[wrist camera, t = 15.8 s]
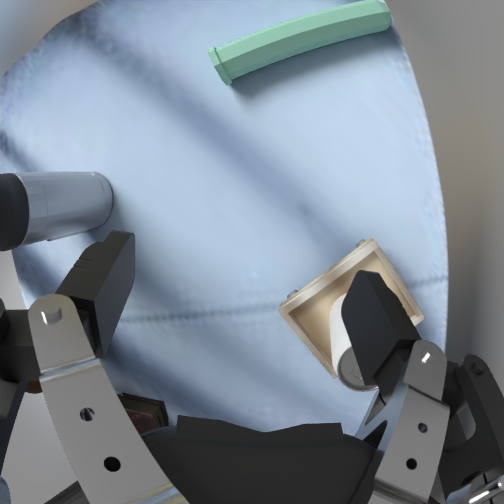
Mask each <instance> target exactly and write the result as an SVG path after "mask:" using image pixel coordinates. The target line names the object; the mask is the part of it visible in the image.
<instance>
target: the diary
mask: <svg viewBox="0 0 504 504" xmlns="http://www.w3.org/2000/svg"><path fill="white" fill-rule="evenodd" d="M117 396H118V398H119V400H120V402H121V404H122V405H123V407H124V409H125V411H126V413H127V415H128V416H129V418H130V420H131V422H132V423H133V425H134V427H135V428H136V430H137V432H138V434H139V435H140V434H143V433H145V432H147V431H150V430H153V429H157V428H161V427H167V426H169V422H168V415H167V412H166V407H165V404H164V401H159V400H154V399H149V398H144V397H139V396H135V395H130V394H126V393H123V396H121V395H117Z"/></svg>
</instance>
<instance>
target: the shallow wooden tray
mask: <svg viewBox="0 0 504 504" xmlns="http://www.w3.org/2000/svg"><path fill="white" fill-rule="evenodd" d="M356 246H357V248H356V249H355V250H353V251H352V252H351V253H350V254H348V255H347V256H346V257H344V258H343V259H342V260H340V261H339V262H338V263H336V264H335V265H334V266H332V267H331V268H330V269H328V270H327V271H326V272H324V273H323V274H321V275H320V276H319V277H317V278H316V279H315V280H313V281H312V282H311V283H309V284H308V285H306V286H305V287H304V288H302V289H301V290H299V291H297V290H294V291H293V292H292V293H290V294H289V295H288V296H287V298H288V299H287V300H285V301H284V302H283V303H281V304H280V308H279V311H278V312H279V314H280V315H281V316H282V317H283V318H284V320H285V321H286V322H287V323H288V324H289V326H290V327H291V328H292V329H293V330H294V332H295V333H296V334H297V335H298V336H299V338H300V339H301V340H302V341H303V342H304V344H305V345H306V346H307V347H308V348H309V350H310V351H311V352H312V353H313V354H314V356H315V357H316V358H317V359H318V360H319V361H320V363H321V364H322V365H323V366H324V367H325V369H326V370H327V371H328V372H329V373H330V375H331V376H332V377H333V378H334V379H335V378H337V377H338V375H337V374H336V372H335V370H334V367H333V363H332V353H331V338H330V323H329V315H330V310H331V307H332V305H333V304H334V302H335V301H336V300H337V299H338V298H339V297H340V296H342V295H344V294H346V293H347V292H348V290H349V288H350V285H351V283H352V281H353V279H354V277H355V275H356V273H357V272H358V271H359V270H366V271H373V272H378V273H379V274H380V275H381V277H382V278H383V280H384V282H385V283H386V285H387V287H389V288H390V289H391V290H392V291H393V292H394V293H395V294H396V295H397V296H398V298H399V300H400V301H401V303H402V305H403V307H404V308H405V310H406V312H407V315H409V317H410V319H411V321H412V323H413V324H414V326H416V325H417V324H418V323H420V322H421V321H422V320H424V319H425V317H424V315H423V313H422V311H421V310H420V308H419V307H418V305H417V303H416V302H415V300H414V298H413V297H412V295H411V294H410V292H409V290H408V289H407V287H406V286H405V284H404V283H403V281H402V279H401V278H400V276H399V275H398V273H397V272H396V270H395V269H394V267H393V266H392V264H391V263H390V261H389V260H388V258H387V257H386V255H385V254H384V252H383V251H382V250H381V248H380V247H379V245H378V244H377V242H376V241H375V240H374V239H373V238H372V237H370V238H369V239H368V240H366V241H364V239H363V240H361V241H360V242H359V243H358V244H356Z"/></svg>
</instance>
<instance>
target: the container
mask: <svg viewBox="0 0 504 504" xmlns="http://www.w3.org/2000/svg"><path fill="white" fill-rule="evenodd" d="M391 23H392V18H391V14H390V11H389V9H388V8H387V7H386V5H385V4H384V3H382V2H379V1H375V0H365V1H360V2H355V3H350V4H346V5H341V6H337V7H333V8H329V9H325V10H321V11H317V12H314V13H310V14H307V15H303V16H300V17H297V18H294V19H290V20H287V21H284V22H281V23H278V24H276V25H273V26H270V27H267V28H264V29H262V30H259V31H256V32H254V33H251V34H249V35H246V36H244V37H241V38H239V39H236V40H234V41H232V42H229V43H227V44H225V45H222V46H220V47H218V48H215V47H214V46H213V47H210V48H208V54H209V56H210V58H211V60H212V63H213V65H214V67H215V69H216V70H217V72H218V74H219V76H220V78H221V79H222V81H223V82H224V83H225V84H226V85H229V84H232V79H235V78H237V77H239V76H242V75H244V74H246V73H249V72H251V71H254V70H256V69H259V68H261V67H264V66H266V65H269V64H272V63H274V62H277V61H280V60H282V59H285V58H288V57H291V56H294V55H297V54H300V53H303V52H306V51H309V50H312V49H315V48H318V47H322V46H325V45H328V44H332V43H335V42H339V41H343V40H347V39H350V38H354V37H358V36H362V35H367V34H371V33H376V32H380V31H385V30H386V29H387V28H388V27H390V25H391Z"/></svg>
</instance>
